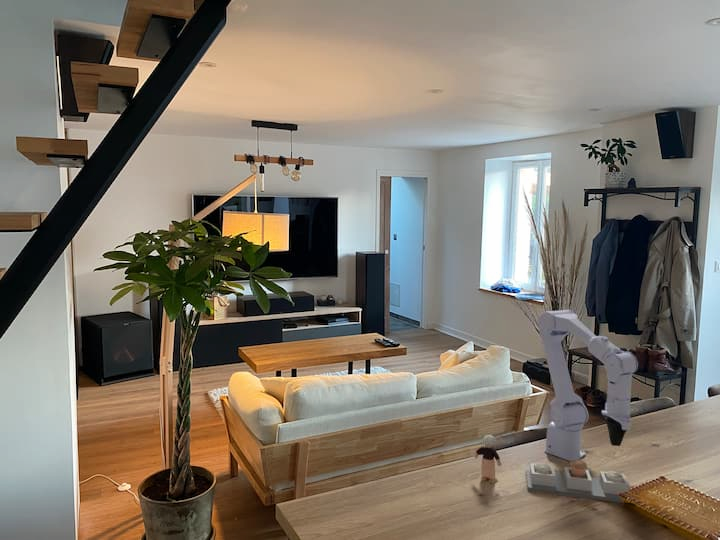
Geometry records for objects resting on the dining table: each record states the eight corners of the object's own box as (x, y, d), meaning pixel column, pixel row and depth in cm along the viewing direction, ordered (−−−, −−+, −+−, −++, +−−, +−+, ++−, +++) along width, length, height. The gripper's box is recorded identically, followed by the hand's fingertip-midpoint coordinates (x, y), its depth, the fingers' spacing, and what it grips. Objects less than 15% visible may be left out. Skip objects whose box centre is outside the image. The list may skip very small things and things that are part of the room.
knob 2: (607, 490, 141) (608, 477, 141) (604, 482, 145) (604, 470, 145) (623, 492, 141) (624, 479, 140) (620, 484, 144) (621, 472, 144)
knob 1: (535, 481, 146) (535, 469, 145) (534, 474, 150) (534, 462, 149) (550, 483, 145) (551, 470, 144) (549, 476, 149) (549, 464, 148)
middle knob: (571, 478, 143) (571, 465, 143) (568, 470, 147) (569, 458, 147) (587, 480, 142) (587, 467, 142) (584, 472, 146) (585, 460, 146)
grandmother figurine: (502, 479, 150) (504, 435, 148) (499, 485, 146) (501, 440, 145) (474, 473, 153) (476, 430, 151) (471, 479, 149) (473, 435, 148)
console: (527, 490, 143) (528, 476, 143) (525, 472, 153) (526, 459, 153) (634, 504, 137) (635, 489, 137) (625, 484, 147) (626, 470, 147)
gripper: (595, 387, 154) (592, 432, 155) (612, 405, 140) (608, 455, 141) (621, 388, 153) (618, 434, 155) (640, 407, 139) (637, 457, 140)
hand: (615, 444), depth 148 cm, fingers closed
